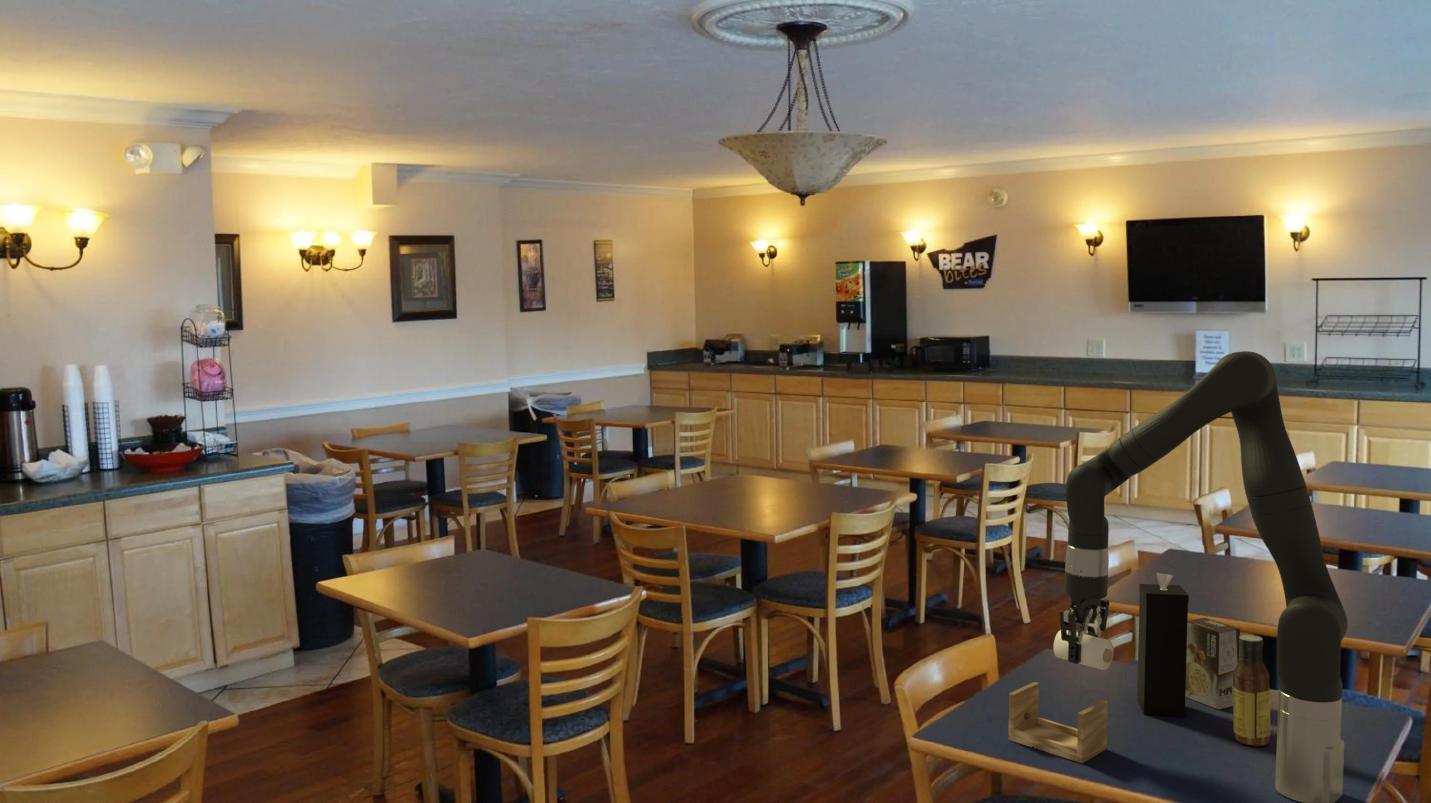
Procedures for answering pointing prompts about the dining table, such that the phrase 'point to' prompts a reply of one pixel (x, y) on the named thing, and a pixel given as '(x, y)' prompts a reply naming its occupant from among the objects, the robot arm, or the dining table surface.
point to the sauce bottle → (1251, 694)
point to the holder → (1056, 727)
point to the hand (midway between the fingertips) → (1082, 658)
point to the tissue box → (1162, 647)
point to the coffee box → (1211, 662)
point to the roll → (1087, 651)
